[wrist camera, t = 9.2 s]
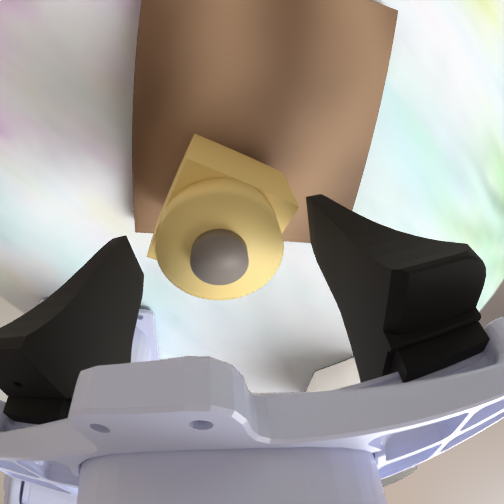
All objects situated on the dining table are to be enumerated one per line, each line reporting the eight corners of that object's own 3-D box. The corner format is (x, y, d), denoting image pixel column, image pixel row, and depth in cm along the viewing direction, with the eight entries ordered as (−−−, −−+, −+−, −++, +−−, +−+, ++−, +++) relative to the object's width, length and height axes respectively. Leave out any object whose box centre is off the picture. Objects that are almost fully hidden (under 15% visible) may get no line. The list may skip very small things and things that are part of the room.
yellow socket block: (240, 245, 17) (248, 323, 13) (159, 215, 16) (137, 288, 11) (283, 172, 15) (311, 234, 11) (194, 133, 14) (180, 179, 9)
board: (139, 221, 18) (135, 232, 17) (152, -25, 10) (146, -31, 9) (335, 234, 20) (341, 244, 19) (387, 12, 12) (397, 10, 11)
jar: (396, 366, 31) (434, 463, 21) (342, 404, 34) (367, 494, 24) (345, 346, 27) (385, 469, 17) (286, 390, 30) (306, 500, 21)
